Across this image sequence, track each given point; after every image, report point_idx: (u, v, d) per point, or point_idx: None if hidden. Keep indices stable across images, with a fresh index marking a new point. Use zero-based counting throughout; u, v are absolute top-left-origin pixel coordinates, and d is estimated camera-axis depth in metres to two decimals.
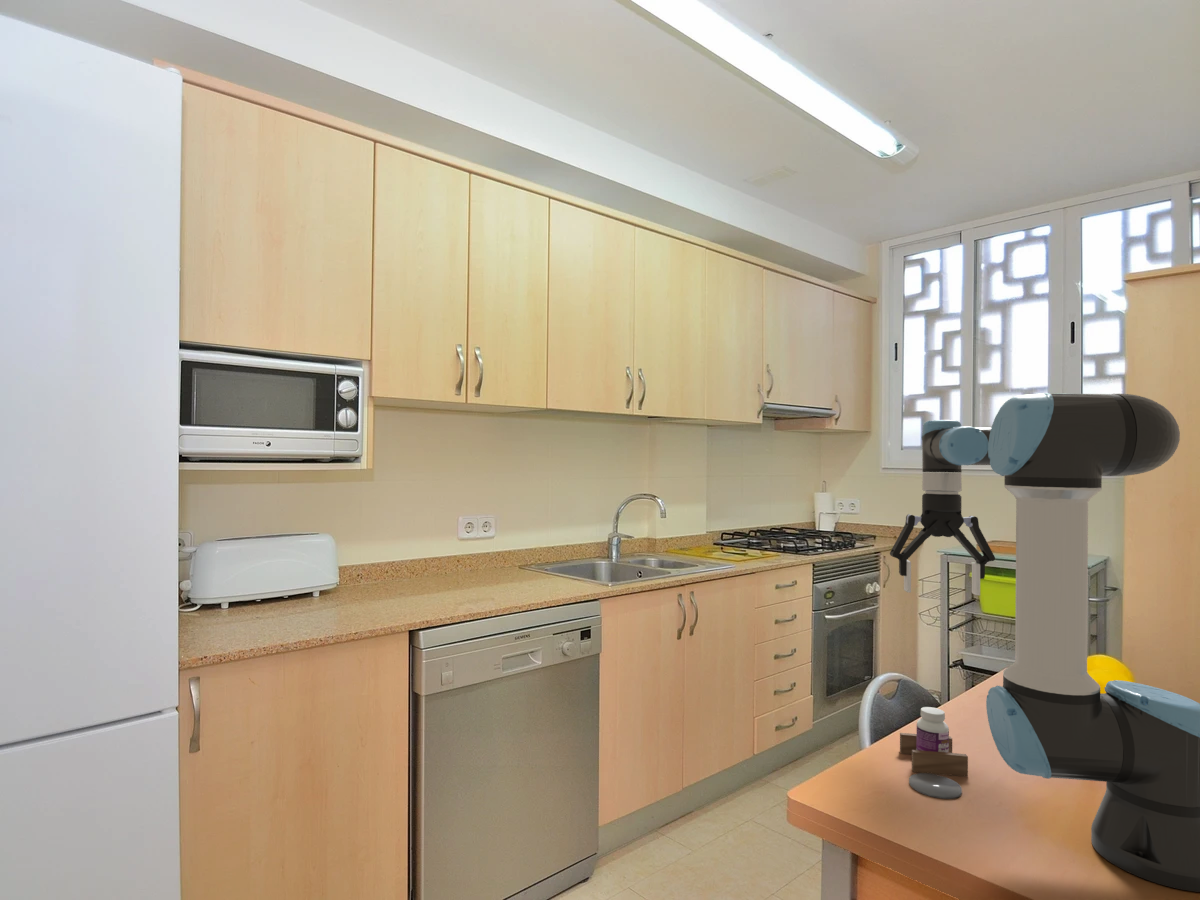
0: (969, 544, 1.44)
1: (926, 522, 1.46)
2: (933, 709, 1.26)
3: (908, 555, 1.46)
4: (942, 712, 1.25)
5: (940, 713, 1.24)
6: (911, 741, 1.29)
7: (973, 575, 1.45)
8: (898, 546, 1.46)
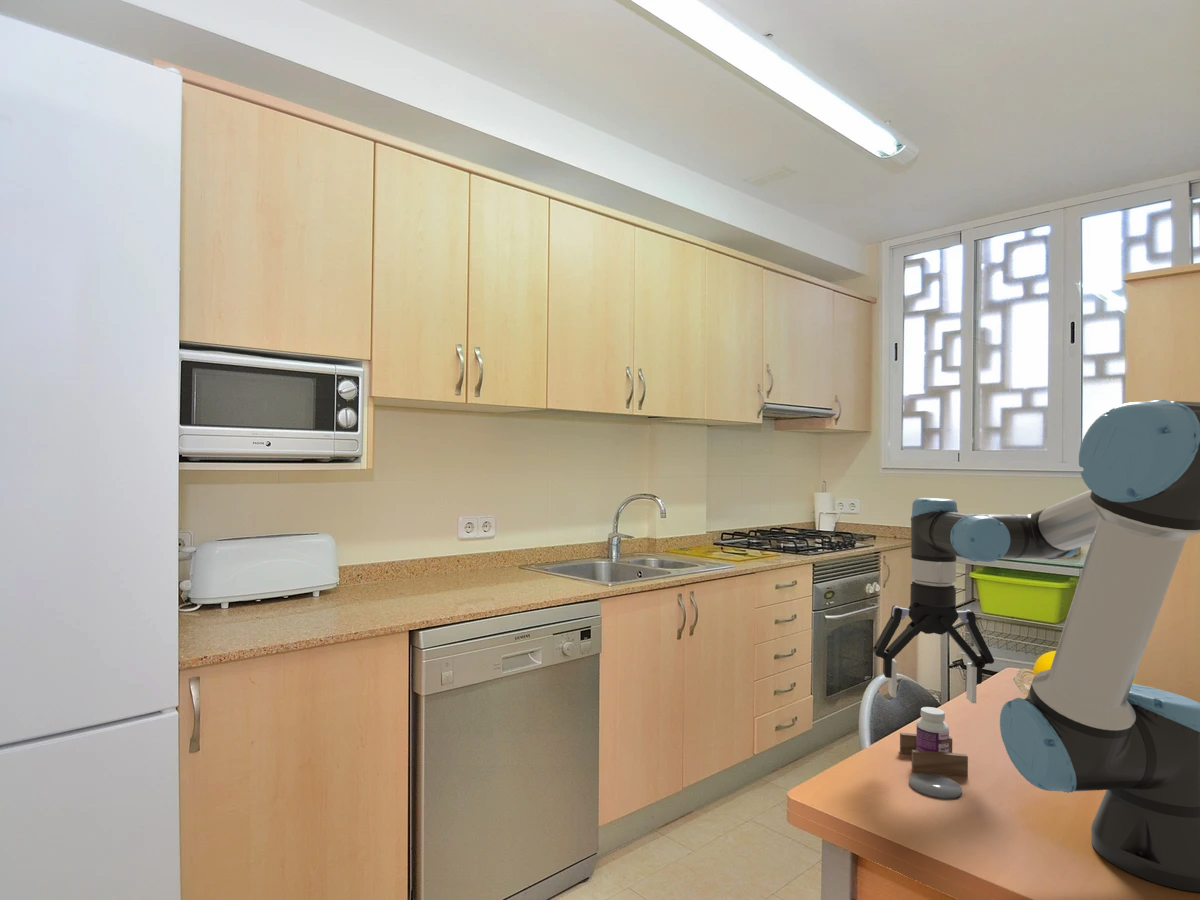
0: (964, 643, 1.24)
1: (915, 617, 1.26)
2: (933, 709, 1.26)
3: (893, 654, 1.26)
4: (942, 712, 1.25)
5: (940, 713, 1.24)
6: (911, 741, 1.29)
7: (968, 678, 1.25)
8: (882, 644, 1.26)
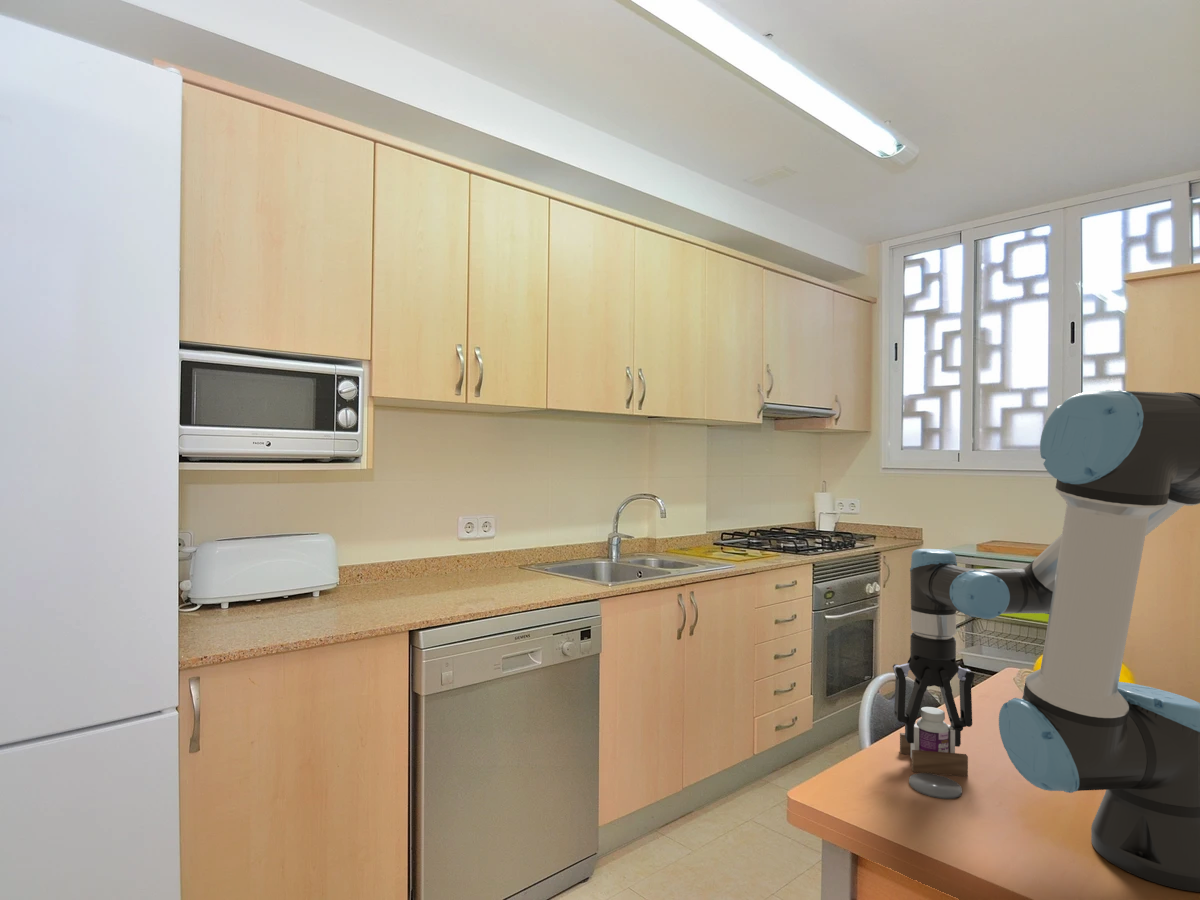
0: (952, 702, 1.24)
1: (916, 669, 1.25)
2: (933, 709, 1.26)
3: (914, 718, 1.25)
4: (942, 712, 1.25)
5: (940, 713, 1.24)
6: None
7: None
8: (899, 708, 1.25)
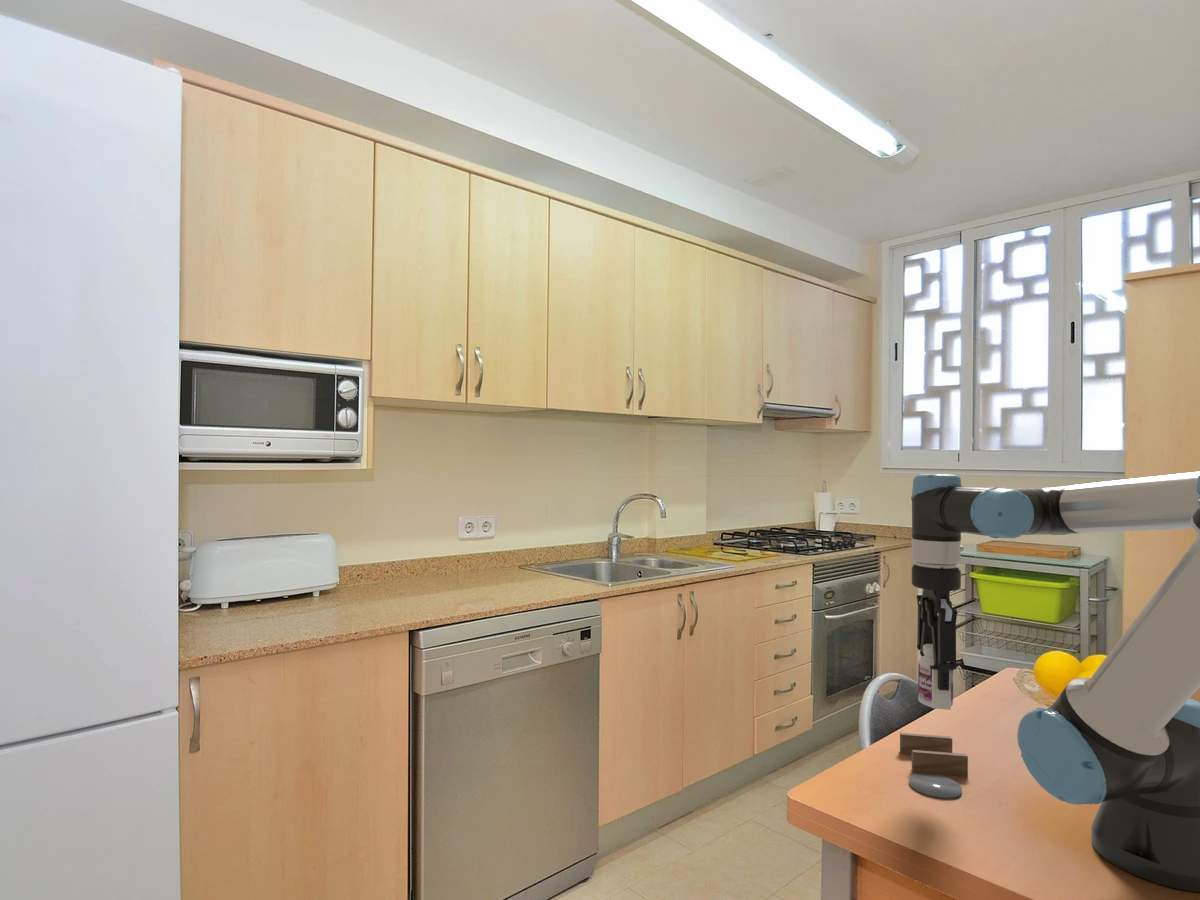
0: (933, 639, 1.14)
1: None
2: None
3: (922, 648, 1.20)
4: None
5: (929, 647, 1.16)
6: (911, 741, 1.29)
7: None
8: (917, 635, 1.23)
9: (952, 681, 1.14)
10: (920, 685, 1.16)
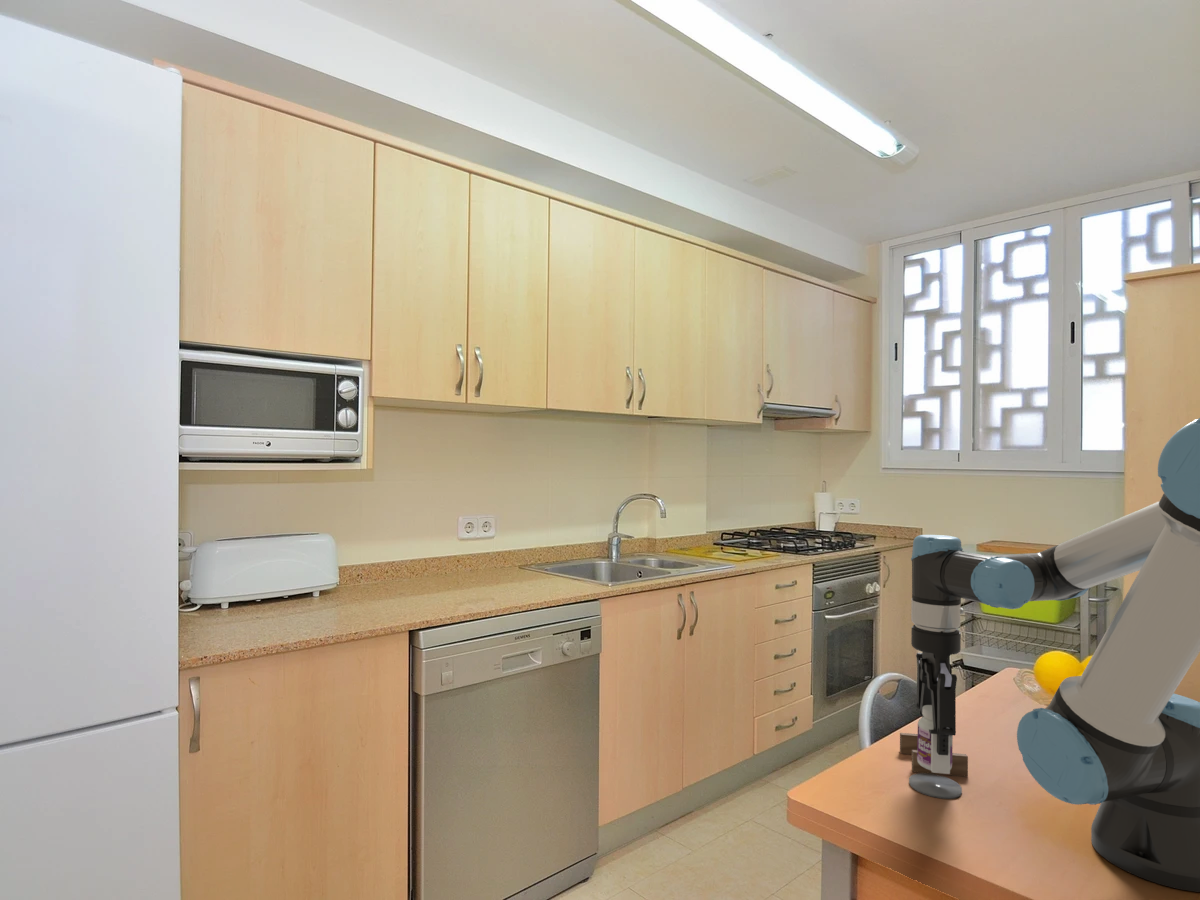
0: (933, 702, 1.13)
1: None
2: None
3: (921, 708, 1.20)
4: None
5: (928, 710, 1.16)
6: (911, 741, 1.29)
7: None
8: (917, 694, 1.22)
9: (951, 744, 1.14)
10: (919, 747, 1.16)
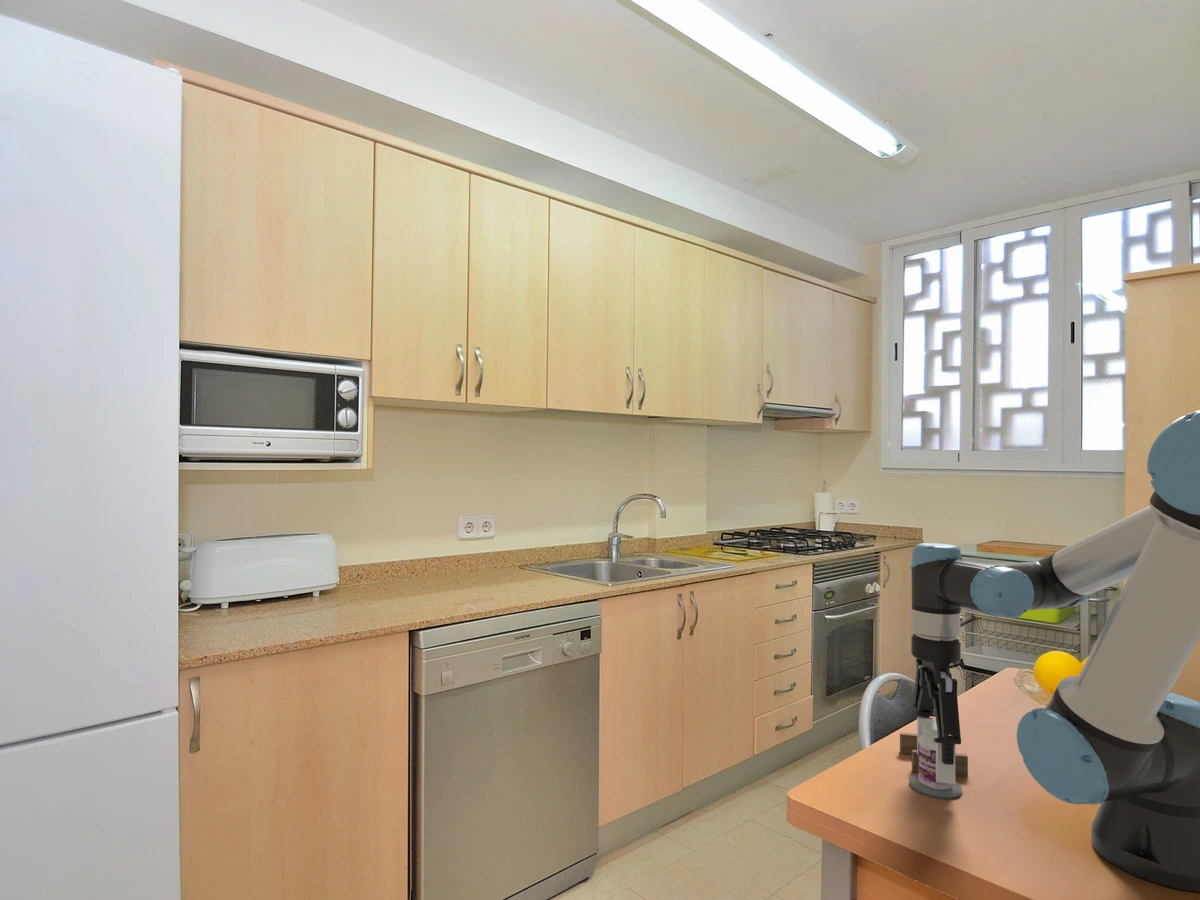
0: (936, 710, 1.12)
1: (923, 667, 1.20)
2: None
3: (918, 709, 1.22)
4: (934, 729, 1.15)
5: (929, 727, 1.15)
6: (911, 741, 1.29)
7: None
8: (914, 694, 1.24)
9: None
10: (920, 765, 1.16)
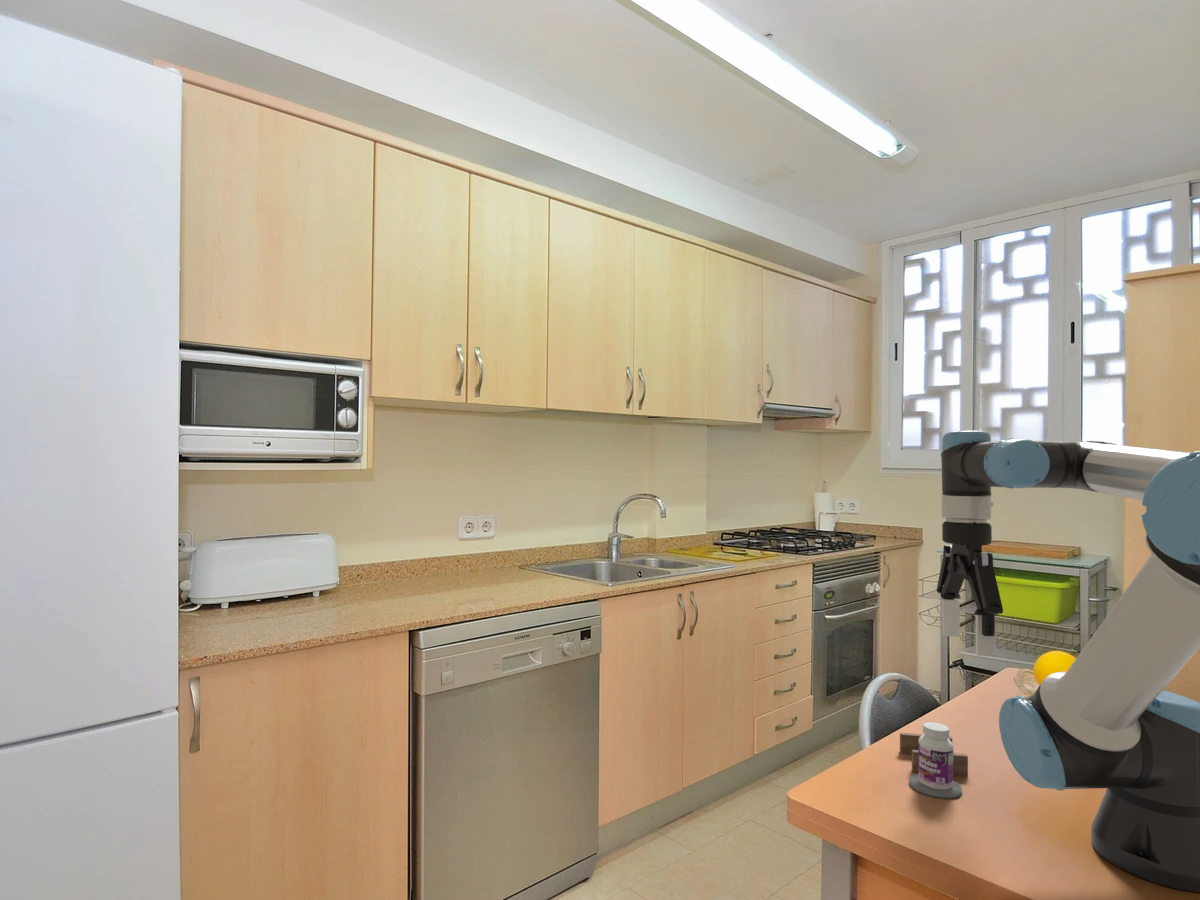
0: (972, 587, 1.13)
1: None
2: (940, 727, 1.16)
3: (943, 592, 1.25)
4: (934, 729, 1.15)
5: (929, 727, 1.15)
6: (911, 741, 1.29)
7: None
8: (939, 580, 1.27)
9: (952, 762, 1.14)
10: (920, 765, 1.16)
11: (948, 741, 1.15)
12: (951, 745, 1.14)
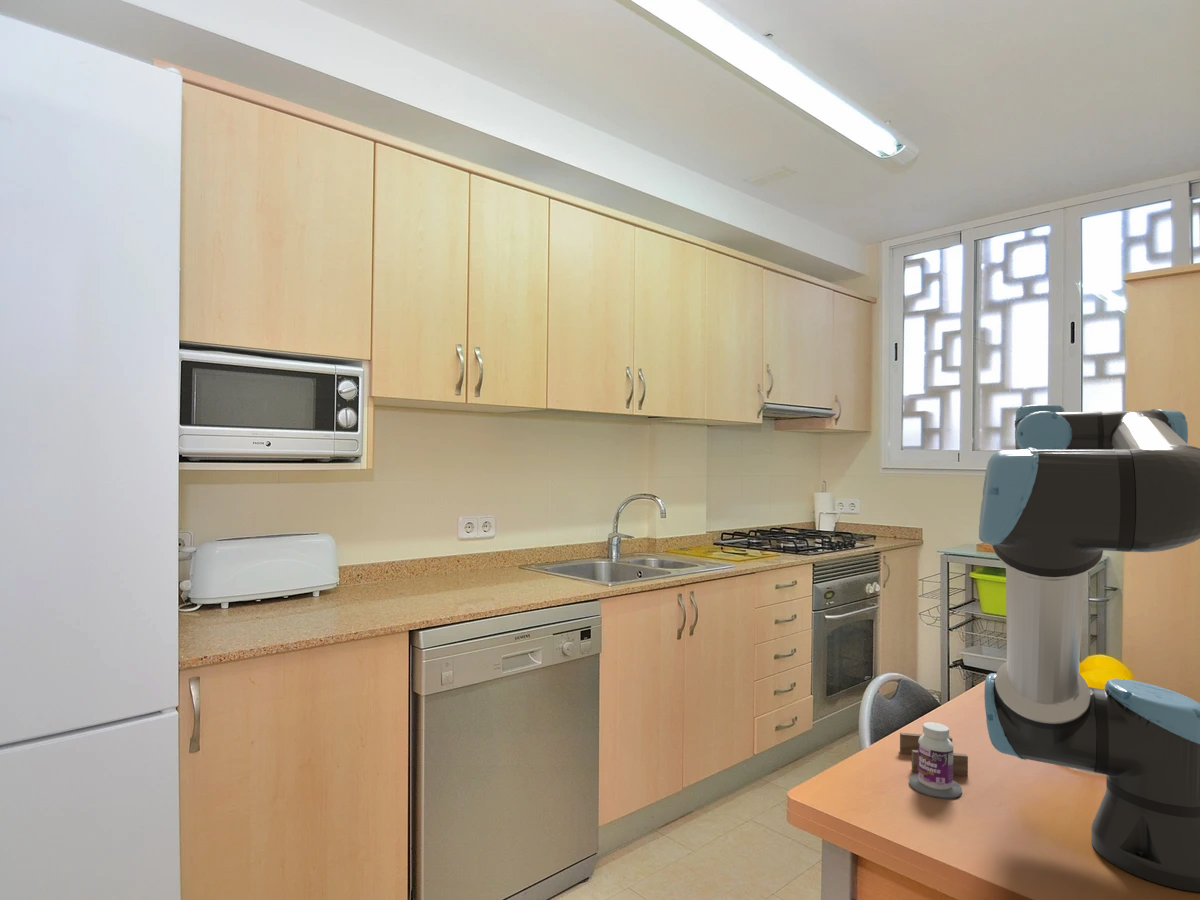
0: None
1: None
2: (939, 727, 1.16)
3: None
4: (934, 729, 1.15)
5: (929, 727, 1.15)
6: (911, 741, 1.29)
7: None
8: None
9: (952, 762, 1.14)
10: (920, 765, 1.16)
11: (948, 741, 1.15)
12: (951, 745, 1.14)
